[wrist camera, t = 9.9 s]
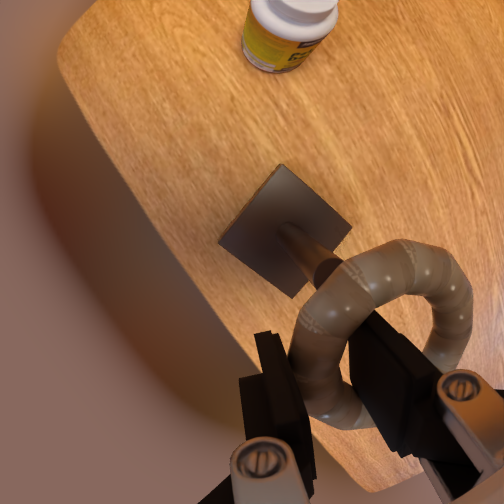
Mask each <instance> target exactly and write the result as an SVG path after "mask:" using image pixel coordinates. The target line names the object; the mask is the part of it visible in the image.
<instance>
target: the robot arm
mask: <svg viewBox="0 0 504 504" xmlns="http://www.w3.org/2000/svg"><path fill="white" fill-rule="evenodd" d="M254 337H255V341H256V346H257V350H258V354H259V359H260V363H261V367H262V372H263V373H261V374H257V375H252V376H247V377H243V378H239V387H240V396H241V404H242V412H243V420H244V428H245V435H246V442H244V443H242V444H241V445H239V446H238V447H237V448H236V449H235V450H234V451H233V454H232V455H231V458H230V473H231V474H230V475H229V476H228V477H227V478H226V479H224V480H223V481H222V482H221V483H220V484H219V485H218V486H217V487H216V488H215V489H214V490H212V491H211V492H210V493H209V494H208V495H207V496H206V497H205V498H203V499H202V500H201V501H200V502H199V503H198V504H310V501H309V500H310V498H311V497H312V495H313V494H314V487H313V480H314V479H317V476H316V468H315V459H314V450H313V442H312V434H311V426H310V421H309V416H308V413H307V409H306V406H305V404H304V401H303V398H302V396H301V393H300V390H299V388H298V385H297V382H296V379H295V377H294V374H293V371H292V369H291V366H290V363H289V361H288V358H287V355H286V352H285V350H284V347H283V344H282V342H281V339H280V336H279V334H278V333H276V334H272V333H271V330H269V331H265V332H261V333H256V334H254ZM348 344H349V368H350V380H351V383H352V386H353V387H354V388H355V389H356V391H357V393H358V396H359V398H360V399H361V401H362V403H363V404H364V406H365V408H366V409H367V411H368V413H369V414H370V416H371V418H372V420H373V421H374V423H375V425H376V426H377V428H378V430H379V432H380V433H381V435H382V437H383V438H384V440H385V442H386V444H387V445H388V447H389V449H390V450H391V451H392V452H395V451H397V452H398V454H399V456H400V457H401V458H403V457H405V456H407V455H410V454H412V455H413V456H414V457H418V458H419V461H420V464H421V466H422V467H423V469H424V471H425V473H426V474H427V476H428V478H429V480H430V481H431V483H432V485H433V487H434V488H435V490H436V492H437V494H438V496H439V498H440V499H441V501H442V503H443V504H504V390H497V389H493V388H492V387H491V386H490V385H489V384H488V383H487V382H486V381H485V380H484V379H483V378H482V377H481V376H480V375H478V374H477V373H476V372H473V371H471V370H465V369H457V370H452V371H449V372H447V373H446V374H443V373H442V372H441V371H440V370H439V369H438V368H437V367H436V366H435V365H434V364H433V363H432V362H431V361H430V360H429V359H428V358H427V357H426V356H425V355H424V354H423V353H422V352H421V351H420V350H419V349H418V348H417V347H416V346H415V345H414V344H413V343H411V342H410V341H409V340H408V339H407V338H406V337H405V336H404V335H403V334H401V333H398V332H397V331H396V330H395V329H394V328H393V327H392V326H391V325H390V324H389V323H388V322H387V321H386V320H385V319H384V318H383V317H382V316H381V315H380V314H378V313H377V312H376V311H375V310H373V312H372V313H371V314H370V315H369V316H368V317H367V318H366V319H365V321H364V322H363V323H362V324H361V325H360V326H359V327H358V328H357V329H356V330H355V331H354V332H353V334H352V335H351V336H350V337H349V338H348Z"/></svg>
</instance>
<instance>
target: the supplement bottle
mask: <svg viewBox="0 0 504 504" xmlns="http://www.w3.org/2000/svg"><path fill="white" fill-rule="evenodd" d="M338 1H339V0H251V1H250V5H249V9H248V13H247V17H246V21H245V26H244V30H243V34H242V41H241V44H242V49H243V52H244V54H245V56H246V57H247V59H248V60H249V61H250V62H251V63H252V64H253V65H255V66H256V67H258V68H260V69H262V70H265V71H268V72H274V73H281V72H287V71H290V70H292V69H294V68H296V67H297V66H299V65H300V64H301V63H302V62H303V61H304V60H305V59H306V58H307V56H308V55H309V54H310V53H311V52H312V51H313V50H314V49H315V48H316V47H317V46H318V45H319V44H320V43H321V41H322V40H323V39H324V38H325V37H326V36H327V35H328V34H329V33H330V32H331V30H332V29H333V28H334V26H335V25H336V22H337V19H338V7H337V3H338Z"/></svg>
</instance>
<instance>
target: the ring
mask: <svg viewBox="0 0 504 504" xmlns="http://www.w3.org/2000/svg"><path fill="white" fill-rule="evenodd" d="M404 294H407V295H417V296H423V297H424V298H425V299H426V300H427V301H428V303H429V304H430V305H431V306H432V318H433V327H432V330H431V332H430V335H429V337H428V340H427V342H426V345H425V347H424V349H423V352H422V353H423V354H424V355H425V356H426V357H427V358H428V359H429V360H430V361H431V362H432V363H433V364H434V365H435V366H436V367H437V368H438V369H439V370H440V371H441V372H442V373H443V374H446V373H447V372H449V371H452V370H455V369H456V367H457V365H458V363H459V361H460V359H461V357H462V354H463V352H464V350H465V348H466V346H467V343H468V341H469V339H470V336H471V333H472V326H473V289H472V286H471V284H470V282H469V280H468V279H467V277H466V275H465V274H464V272H463V271H462V269H461V268H460V266H459V265H458V263H457V262H456V260H455V259H454V257H453V256H452V254H451V253H450V252H449V251H447V250H446V249H444V248H441V247H437V246H433V245H429V244H424V243H420V242H416V241H411V240H407V239H395V240H392V241H389V242H387V243H385V244H382V245H380V246H378V247H375V248H373V249H371V250H368V251H366V252H363V253H361V254H359V255H356V256H354V257H351V258H349V259H347V260H345V261H344V262H342V263H341V264H340V265H339V266H338V267H337V268H336V269H335V270H334V272H333V273H332V274H331V275H330V276H329V277H328V278H327V280H326V281H325V282H324V283H323V284H322V285H321V286H320V287H319V289H318V290H317V291H316V292H315V293H314V294H313V295H312V296H311V297H310V299H309V300H308V301H307V302H306V303H305V304H304V305H303V307H302V308H301V310H300V311H299V314H298V317H297V320H296V324H295V328H294V332H293V335H292V339H291V343H290V346H289V350H288V354H287V358H288V361H289V363H290V366H291V369H292V371H293V374H294V377H295V379H296V382H297V385H298V388H299V390H300V393H301V396H302V398H303V401H304V404H305V406H306V409H307V413H308V415H309V416H311V417H313V418H315V419H317V420H319V421H322V422H324V423H326V424H328V425H330V426H332V427H334V428H337V429H340V430H355V429H364V428H373V427H377V426H376V425H375V423H374V421H373V420H372V418H371V416H370V414H369V413H368V411H367V409H366V408H365V406H364V404H363V403H362V401H361V399H360V398H359V396H358V393H357V391H356V389H355V388H354V387H353V386H351V385H350V384H348V383H346V382H345V381H343V379H342V375H341V371H340V367H339V364H340V361H341V358H342V355H343V353H344V350H345V347H346V344H347V341H348V338H349V337H350V336H351V335H352V334H353V332H354V331H355V330H356V329H357V328H358V327H359V326H360V325H361V324H362V323H363V322H364V321H365V319H366V318H367V317H368V316H369V315H370V314H371V313H372V312H373V310H374V309H375V308H377V307H379V306H382V305H384V304H386V303H388V302H390V301H392V300H394V299H396V298H398V297H400V296H402V295H404Z"/></svg>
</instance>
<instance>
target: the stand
mask: <svg viewBox="0 0 504 504" xmlns="http://www.w3.org/2000/svg"><path fill="white" fill-rule="evenodd" d="M351 229H352V226H351V225H350V224H349V223H348V222H347V221H345V220H344V219H343V218H342V217H341V216H340V215H339V214H338V213H337V212H336V211H335V210H334V209H333V208H332V207H331V206H329V205H328V204H327V203H326V202H325V201H324V200H323V199H322V198H321V197H320V196H319V195H317V194H316V193H315V192H314V191H313V190H312V189H311V188H310V187H308V186H307V185H306V184H305V183H304V182H303V181H302V180H301V179H299V178H298V177H297V176H296V175H295V174H294V173H293V172H291V171H290V170H289V169H288V168H287V167H286V166H284V165H283V164H279V165H278V166H277V168H276V169H275V170H274V171H273V172H272V174H271V175H270V176H269V177H268V178H267V180H266V181H265V182H264V183H263V184H262V186H261V187H260V188H259V189H258V191H257V192H256V193H255V194H254V195H253V197H252V198H251V199H250V200H249V202H248V203H247V204H246V205H245V206H244V208H243V209H242V210H241V211H240V213H239V214H238V215H237V216H236V218H235V219H234V220H233V221H232V222H231V224H230V225H229V226H228V227H227V229H226V230H225V231H224V232H223V234H222V235H221V236H220V237H219V239H218V244H219V245H220V246H222V247H223V248H224V249H226V250H227V251H228V252H230V253H231V254H232V255H234V256H235V257H236V258H238V259H239V260H240V261H242V262H243V263H244V264H246V265H247V266H248V267H250V268H251V269H252V270H254V271H255V272H256V273H258V274H259V275H260V276H262V277H263V278H264V279H266V280H267V281H268V282H270V283H271V284H273V285H274V286H275V287H277V288H278V289H279V290H281V291H282V292H283V293H285V294H286V295H287V296H289V297H290V298H291V299H293V298H294V296H295V295H296V294H297V293H298V292H299V291H300V290H301V288H302V287H303V286H304V285H305V284H306V283H307V282H308V280H309V281H310V282H311V283H312V285H313V286H314V287H315V288H316V290H318V289H319V287H320V286H321V285H322V284H323V283H324V282H325V281H326V280H327V278H328V277H329V276H330V275H331V274H332V273H333V272H334V270H335V269H336V268H337V267H338V266H339V265H340V264H341V263H342V262H344V261H343V260H342V259H340V258H339V257H338V256H337V255H335V254H334V253H333V251H334V250H335V248H336V247H337V246H338V245H339V243H340V242H341V241H342V240H343V239H344V237H345V236H346V235H347V234H348V232H349V231H350V230H351Z"/></svg>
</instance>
